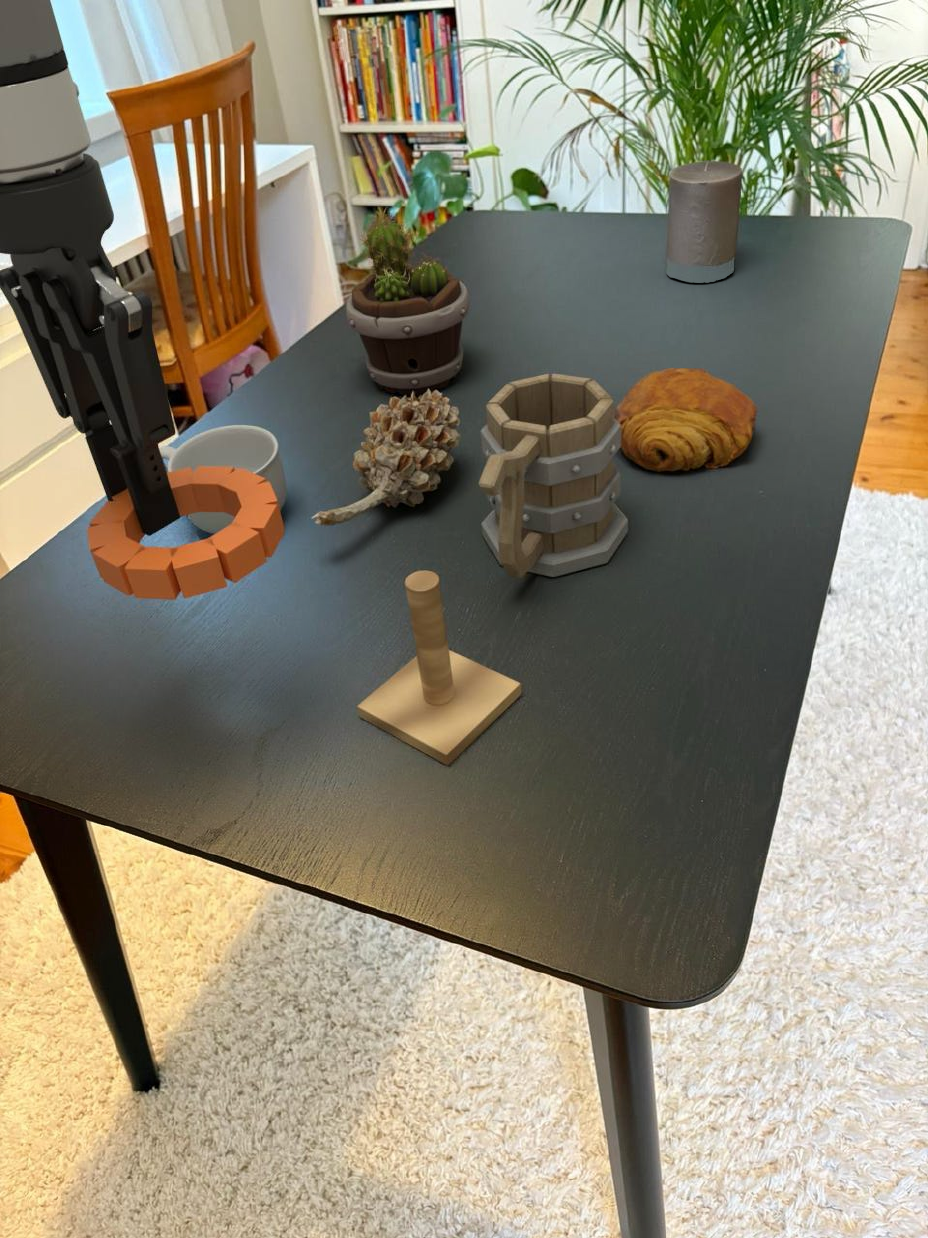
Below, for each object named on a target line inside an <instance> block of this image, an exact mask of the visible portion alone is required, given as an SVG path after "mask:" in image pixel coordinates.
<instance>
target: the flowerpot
mask: <svg viewBox="0 0 928 1238" xmlns="http://www.w3.org/2000/svg"><path fill="white" fill-rule="evenodd" d="M377 206H378V210H379V211H376V210H375V212H376V213H377V215H378V216H376V215H371V217H374V218H373V219H371V217H368V221H369V223H368V224H366V226H367V228H366V229H365V232H366V233H362V234H361V235H359V237H362V238H364V239H361V241H363V243H362V245H363V246H365V249H366V250H365V249H364V248H362V251H363V252H361V253H360V254H361V255H363V254H364V255H365V256H362V257H363V258H365V260H368V259H370V260H372V262H370V263H371V264H370V263H368V266H369V267H370V268H368V269H367V271H370V275H368V276H367V277H366V278H365V279H364V281H362V282H359V283H357V284H356V285H355V286H354V287H353V288H352V289H351V294H350V296H349V297H348V299H347V301H346V306H345V313H346V319H347V322H348V324H349V326H350V328H351V329H352V330H353V331H355V332H356V333H358V334H359V337H360V340H361V342H362V345H363V347H364V350H365V351H366V354H367V356H366V359H365V365H366V368H367V371H368V373H369V375H370V378H371V379H372V380H373V381H374V382H375V383H377V385H378V386H379V387H380V389H382V390H385V391H386V392H388V393H390V394H391V393H392V394H396V393H399V395H404V396H405V395H406V396H411V394H412V392H414V394H415V396H416V395H423V394H424V393H426V392H427V390H428V388H429V390H430V392H431V393H433V392H434V391H435V390H437V389H443V388H444V387H445V388H446V386H447V385H448V384H449V383H450V381H451V379H455V378H456V377H457V374H458V373H459V371H460V370H461V368H462V364H463V358H464V348H463V346H462V344H461V337H462V336H461V335H462V329H463V320H464V319H465V318H466V316H467V315H468V312H469V310H470V296H469V292H468V288H467V287H466V286H465V284H464V283H463V282H462V281H460V279H459V278H458V277H453V275H452V273H451V272H450V271H449V270H448V265H446V267H443V266H442V265H441V264H440V261H439V257H437V258H435V259H434V258H432V257H431V256H430V255H431V253H429V254H428V255H426V254H425V253H424V252H423V251H421V253H422V256H423V257H424V258H423V259H422V258H420V260H417V261H409V260H411V259H412V258H413V259H414V257H415V254H413V253H417V252H418V251H412V249H413V245H412V244H411V243H410V242H411V240H413V239H415V238H414V237H413V235H412V234H409V231H408V230H407V227H405V224H406V221H404V222H403V223H401V220H400V219H398V222H399V223H397V221H396V220H392V218H393V215H394V214H390V213H389V211H387V214H386V210H387V208H388V206H386V207H385V209H384V211H383V213H382V211H381V208H380V206H379V205H377ZM405 228H406V229H405ZM404 229H405V231H403V230H404ZM368 231H369V232H368ZM411 237H412V238H411ZM409 241H410V242H409ZM440 260H443V259H442V258H441V257H440ZM410 263H411V264H410ZM417 263H418V264H417ZM421 263H422V264H421ZM414 264H415V265H414ZM373 271H374V272H373Z"/></svg>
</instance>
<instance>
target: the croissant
mask: <svg viewBox="0 0 928 1238" xmlns="http://www.w3.org/2000/svg"><path fill="white" fill-rule="evenodd" d="M758 412H759V411H758V408H757V406H756V405H755V403H754V401H753V400H752V399H751V398H750V397H749V396H748V395H747V394H745V393H744V392H742V391H741V390H739V389H738V388H737V387H736V386H735V385H734V384H731V383H729V382H728V381H725V380H723V379H721V378H719V377H716V376H713V375H711V374H709V373H708V372H707V371H706V369H702V368H684V367H683V368H676V367H670V368H667V369H663V370H659V371H656V370H655V371H653V372H650V373H648V374H646V375H644V376H643V377H642V378H641V379H639V380H638V381H637V382H636V383H634V385H633V386H631V387H630V388H629V390H628V391H627V392H626V394H625V396H624V397H623V399H622V400H621V401H620V402H619V403H618V404H617V407H616V408H615V411H614V414H613V417H614V418H615V420H616V421H617V422H618V423H619V424H620V425H621V447H620V449H621V450H622V452H623V454H624V455H625V456H626V458H628V459H629V460H631V461H633V463H635V464H637V465H638V466H640V467H642V468H643V469H645V470H650V471H653V472H658V473H659V472H666V471H669V472H675V471H679V470H681V471H686V472H687V471H689V470H690V469H693V470H695V469H699V468H701V467H702V466H704V467H705V469H718V468H719V467H724V466H727V465H729V463H731V462H732V461H734V460H735V459H737V458H738V457H740V456H741V455H742V454H743V453H744V452H745V451H746V450H747V448H748V446H749V444H750V443H751V441H752V438H753V436H754V430H755V429H756V428H755V426H756V425H755V421H756V417H757V414H758Z"/></svg>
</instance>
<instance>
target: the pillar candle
mask: <svg viewBox="0 0 928 1238" xmlns="http://www.w3.org/2000/svg"><path fill="white" fill-rule="evenodd" d="M668 177H669V179H668V204H667V205H668V207H667V208H668V209H667V230H666V231H667V233H666V255H667V257H666V258H668V259H669V260H670V261H671V262H673V263H675V264H677V265H681V266H697V267H698V266H718V265H722V264H724V263H727V262H729V261H731V260H732V259H733V258H734V257H735V255H736V256H737V244H738V233H739V222H740V211H741V210H740V208H741V196H742V181H743V180H742V179H743V168H742V167H741V166H739V165H738V164H736V163H732V162H727V161H720V160H703V161H696V162H695V161H694V162H688V163H685V164H681V165H679V166H675V167H674V168H673V169H671V170H669V172H668ZM735 258H736V257H735Z"/></svg>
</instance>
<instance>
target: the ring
mask: <svg viewBox="0 0 928 1238" xmlns="http://www.w3.org/2000/svg"><path fill="white" fill-rule="evenodd" d="M167 475H168V479H169V483H170V486H171V489H172V492H173V495H174V498H175V502H176V505H177V508H178V511H179V514H180V517H184V516H187V515H189V514H192V513H196V512H226V513H228V514H230V515H232V516H234V517H235V519H234V520H233V522H232V523H231V524H230V525H229V526H227V527H226V528H224V529H222V530H221V531H219V532H218V533H216V534H212V535H210V536H209V537H208V538H205V539H202V540H198V541H193V542H189V543H186V544H182V545H179V546H173V547H172V546H171V547H169V546H168V547H167V546H145V545H143V544H141V543H140V542H141V541H142V540H143V538H145V535H146V534H144V533H143V532H142V529H141V526H140V523H139V520H138V517H137V514H136V512H135V509H134V506H133V503H132V500H131V497H130V494H129V491H128V489H126V490H124V491H122V492H120V493H118V494H117V495H115V496H113V497H112V498H113V501H108V500H107V501H106V502H105V503H104V504H103V505H102V506H101V508H100V509H99V510H98V511H97V513H96V514H95V515H94V516H93V517H92V519H91V520H90V521H89V522H88V524H89V526H88V527H87V528H86V532H87V541H88V549H89V551H90V554H91V556H92V559H93V562H94V564H95V567H96V569H97V571H98V573H99V577H100V578H101V579H102V580H103V583H105V584H107V586H109V587H111V588H114V589H115V590H117V591H119V592H120V593H122V594H124V595H125V596H127V597H130V596H132V595H134V598H135V599H147V600H148V599H149V600H150V599H151V600H173V601H174V600H177V599H178V596H179V595H180V593H181V596H182V598H183V599H188V598H192V597H195V596H199V595H203V594H206V593H210V592H214V591H217V590H221V589H224V588H227V587H228V584H227V580H228V581H229V582H231V583H233V584H236V583H237V582H239V581H240V580H242V579H243V578H245V577H246V576H248V575H249V574H251V573H252V572H254V571H255V570H257V569H259V568H260V567H262V566H263V565H265V564H266V563H267V558H269V559H270V558H273V555H274V553H275V552H276V550H277V548H278V546H279V544H280V542H281V540H282V539H283V537H284V535H285V532H284V530H285V526H284V521H283V515H282V513H281V510H280V508H279V504H278V500H277V498H276V495H275V493H274V491H273V489H272V486H271V484H270V482H269V481H268V482H266V479H265V478H264V477H261V476H259V475H256V474H254V473H252V472H249V471H247V470H244V469H242V468H239V469H237V470H235V469H234V467H222V466H198V467H197V468H196V469H195V471H194V472H193V473H192V470H191V467H188V468H184V469H180V470H176V471H172V472H168V473H167Z"/></svg>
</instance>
